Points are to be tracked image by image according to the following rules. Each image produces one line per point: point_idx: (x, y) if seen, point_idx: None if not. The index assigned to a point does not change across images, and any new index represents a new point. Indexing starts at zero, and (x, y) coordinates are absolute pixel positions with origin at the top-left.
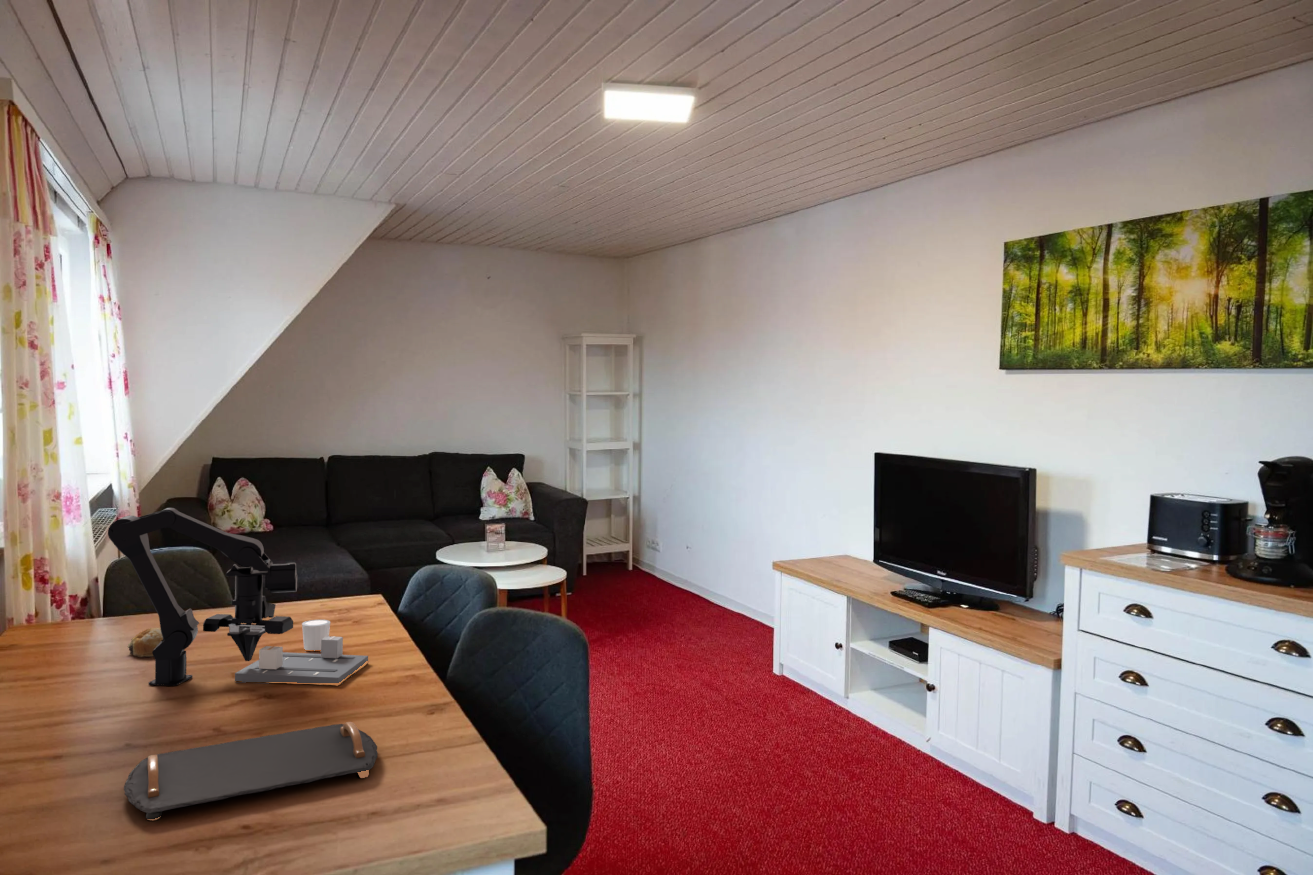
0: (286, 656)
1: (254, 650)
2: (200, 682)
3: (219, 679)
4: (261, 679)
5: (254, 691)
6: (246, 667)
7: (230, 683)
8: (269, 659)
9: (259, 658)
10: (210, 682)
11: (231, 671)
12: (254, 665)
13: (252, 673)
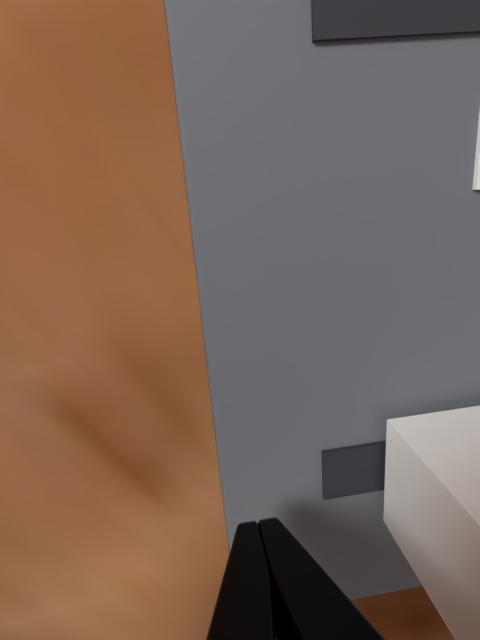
0: (446, 37)
1: (343, 596)
2: (5, 629)
3: (85, 552)
4: None
5: (437, 632)
6: (235, 493)
7: (220, 585)
8: None
9: (439, 607)
10: (73, 610)
11: (18, 382)
12: (269, 425)
13: (371, 584)
